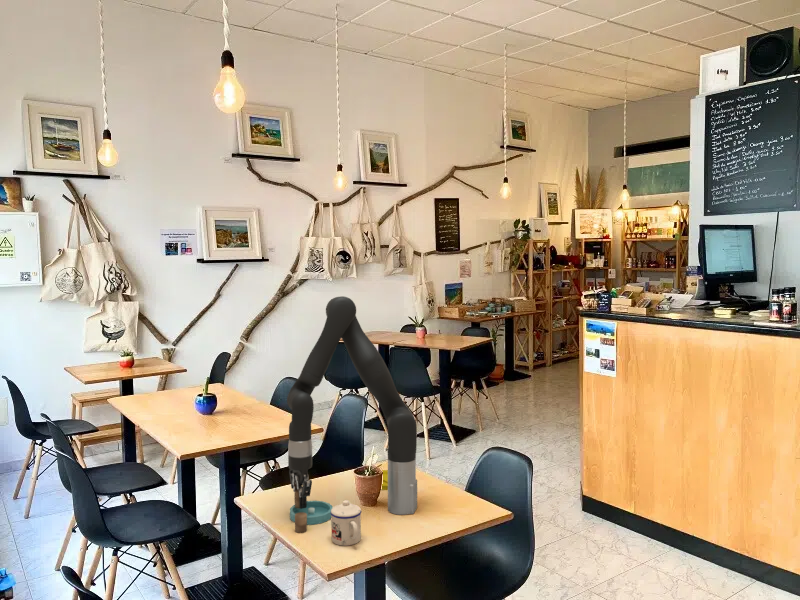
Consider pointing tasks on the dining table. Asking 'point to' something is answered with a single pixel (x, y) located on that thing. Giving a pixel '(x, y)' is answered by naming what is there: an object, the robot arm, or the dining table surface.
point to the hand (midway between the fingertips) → (300, 505)
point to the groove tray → (318, 514)
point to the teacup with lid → (346, 524)
